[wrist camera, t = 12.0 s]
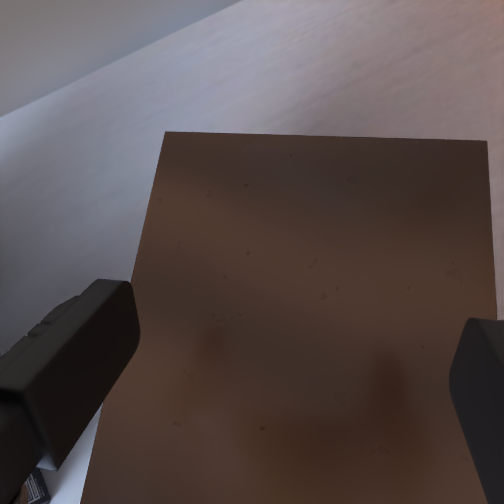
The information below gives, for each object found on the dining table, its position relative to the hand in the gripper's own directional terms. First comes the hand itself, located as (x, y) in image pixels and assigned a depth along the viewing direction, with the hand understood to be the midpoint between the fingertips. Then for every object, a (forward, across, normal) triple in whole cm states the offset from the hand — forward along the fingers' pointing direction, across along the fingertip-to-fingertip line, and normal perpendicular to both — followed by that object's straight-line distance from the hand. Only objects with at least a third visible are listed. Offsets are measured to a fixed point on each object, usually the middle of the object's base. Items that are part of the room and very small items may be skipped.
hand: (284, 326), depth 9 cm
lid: (+4, 0, +4) cm, 6 cm away
